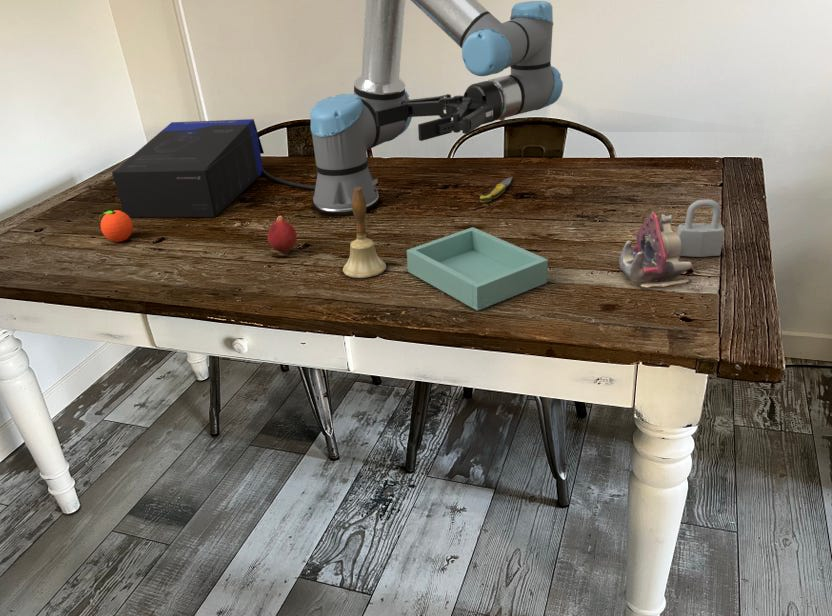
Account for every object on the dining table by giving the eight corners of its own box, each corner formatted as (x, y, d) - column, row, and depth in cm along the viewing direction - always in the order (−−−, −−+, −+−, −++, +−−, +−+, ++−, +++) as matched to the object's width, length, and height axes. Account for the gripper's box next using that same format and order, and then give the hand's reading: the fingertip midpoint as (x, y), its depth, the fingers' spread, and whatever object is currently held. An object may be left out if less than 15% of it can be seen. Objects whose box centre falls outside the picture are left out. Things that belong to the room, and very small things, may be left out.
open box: (407, 271, 139) (406, 250, 137) (473, 248, 145) (472, 226, 142) (477, 310, 123) (477, 287, 121) (547, 282, 129) (548, 259, 127)
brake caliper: (597, 252, 132) (644, 195, 127) (642, 280, 135) (689, 226, 130) (622, 280, 122) (673, 219, 117) (670, 309, 126) (721, 251, 121)
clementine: (95, 245, 167) (86, 215, 163) (113, 233, 172) (105, 204, 169) (124, 247, 164) (116, 217, 160) (142, 235, 170) (134, 205, 166)
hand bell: (364, 256, 147) (356, 177, 138) (395, 266, 141) (388, 185, 133) (333, 271, 142) (323, 191, 134) (364, 282, 137) (355, 199, 128)
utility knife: (504, 173, 176) (516, 174, 175) (504, 178, 177) (516, 179, 175) (479, 197, 165) (492, 198, 163) (479, 202, 165) (492, 203, 164)
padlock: (677, 257, 132) (685, 204, 127) (674, 248, 135) (681, 195, 130) (721, 257, 131) (730, 203, 125) (716, 248, 134) (725, 194, 129)
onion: (277, 261, 149) (270, 224, 145) (266, 252, 153) (260, 216, 149) (303, 253, 151) (297, 216, 147) (292, 245, 155) (286, 208, 151)
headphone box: (267, 169, 203) (259, 115, 195) (215, 217, 174) (202, 157, 167) (186, 170, 209) (175, 118, 202) (123, 217, 181) (107, 159, 174)
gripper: (535, 133, 133) (440, 161, 125) (451, 110, 152) (363, 133, 144) (537, 89, 129) (438, 116, 121) (450, 72, 148) (359, 93, 140)
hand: (397, 125), depth 132 cm, fingers open, 13 cm apart
